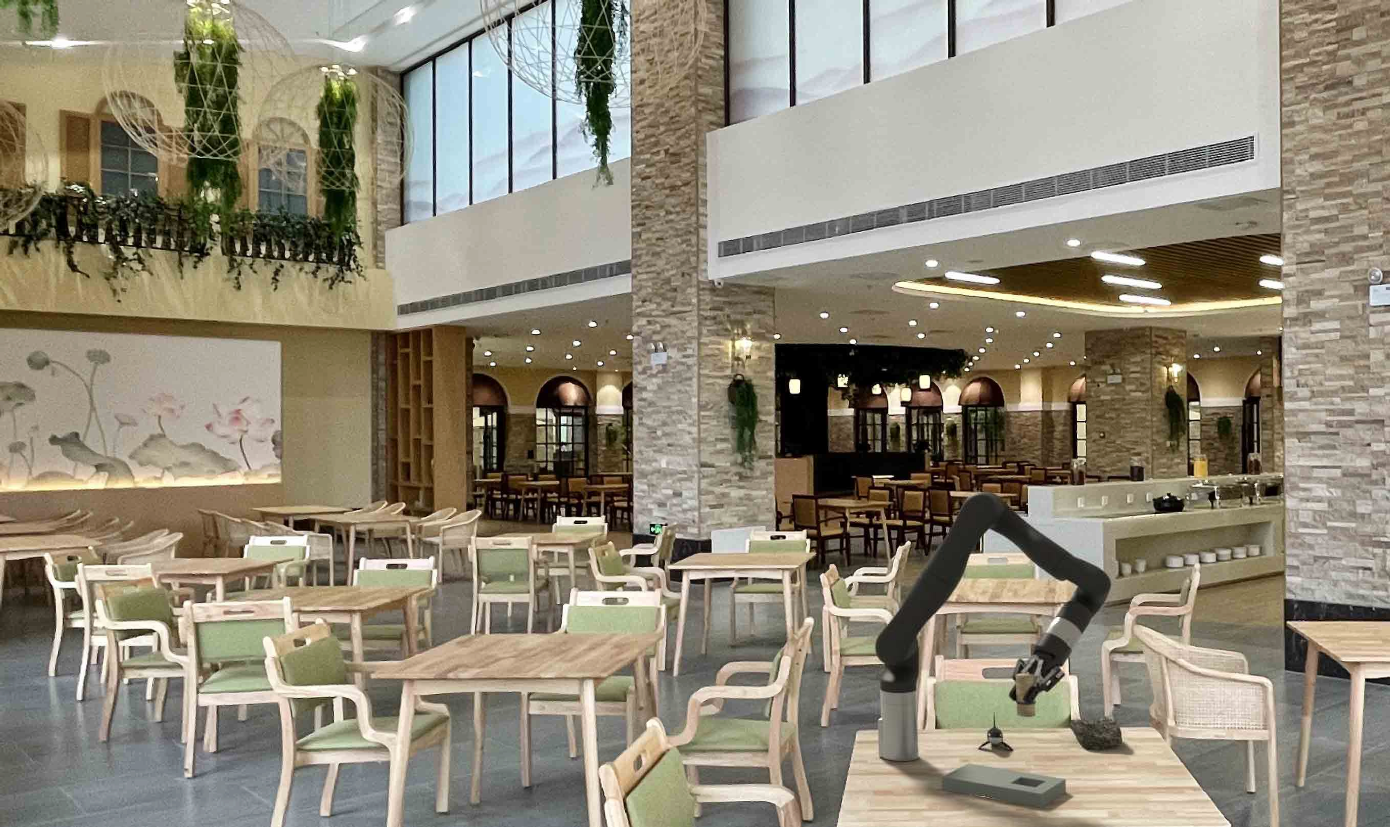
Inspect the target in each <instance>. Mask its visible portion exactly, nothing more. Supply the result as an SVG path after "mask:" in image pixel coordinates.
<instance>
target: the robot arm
mask: <svg viewBox="0 0 1390 827" xmlns="http://www.w3.org/2000/svg"><path fill="white" fill-rule="evenodd" d="M988 530H990V531H993V532H995V533H997V534H998V535H1000V536H1003V537H1004V538H1006V539H1007V540H1008V541H1010V542H1012V544H1014V545H1015V546H1016V547H1017V548H1019V549H1020V551H1022V553H1023V554H1024V555H1025V556H1026V557H1027V558H1028V559H1029V560H1030V561H1032V563H1034V564H1035V565H1036V566H1037V567H1039V568H1040V569H1041V570H1043V571H1044V572H1046V573H1047V574H1048V575H1049V576H1051V577H1052V578H1054V579H1056V580H1057V581H1060V582H1065V581H1069V582H1070V583H1071V584H1073V585H1075V586H1076V588H1075V590H1074V592H1073V593H1072V595H1071V597H1070V598H1069V600H1068V601H1066V602H1065V603H1064V604H1063V606H1061V608H1060V610H1059V611H1058V612H1057V613H1056V616H1055V617H1054V618H1053V619H1052V620H1051V622H1050V623H1049V624H1048V626H1047V627H1046V628H1045V629H1044V631H1043V632H1042V634H1041V635H1040V637H1039V638H1038V640H1037V641H1036V643H1035V645H1034V646H1033V653H1032V655H1031V656H1030V657H1028V659H1027V660H1024V659H1022V658H1021V657H1020V658H1018V659H1017V661H1016V664H1015V667H1014V669H1013V672H1012V675H1011V679H1012V680H1013V682H1015V683H1014V685H1013V687H1012V688H1011V690H1010V691H1009V693H1008V697H1009V698H1010V699H1011V700H1012V702H1013V701H1014V702H1016V700H1017V695H1016V674H1023V673H1025V674H1033V675H1034V681H1033V684H1032V686H1033V687H1032V686H1031V687H1030V688H1029V689H1028V691H1027V692H1026V694H1025V695H1024V697H1023V701H1024V702H1025V703H1026V704H1027V705H1030V704H1031V703H1032V702H1033V701H1034V700H1035V701H1036V698H1037V697H1038V696H1039V694H1040V693H1042V692H1046V693H1048V692H1050V691H1051V690H1052V689H1053V688H1054V687H1055V686H1056V685H1057V684H1058V683H1059V682H1060V681H1061V680H1062V679H1063V678H1064V677H1065V676H1066V674H1065V672H1064V671H1063V670H1062V669H1061V668H1062V667H1063V666H1064V665H1065V663H1066V662H1067V660H1068V659H1069V657H1070V655H1071V654H1072V652H1073V651H1074V649H1075V648H1076V647H1077V644H1078V643H1079V641H1080V638H1081V637H1082V635H1083V634H1084V632H1085V630H1087V628H1088V627H1089V624H1090V622H1091V620H1092V619H1093V618H1094V616H1096V615H1097V613H1098V612H1099V610H1100V609H1101V608H1102V607H1103V605H1104V603H1105V602H1106V600H1107V599H1108V597H1109V594H1110V590H1111V587H1112V581H1111V578H1110V577H1109V575H1108V574H1107V573H1106V572H1105V571H1104V570H1103V569H1102V568H1100V567H1099V566H1097V565H1095V564H1093V563H1090V562H1089V561H1086V560H1084V559H1082V558H1079V557H1077V556H1075V555H1074V554H1073V553H1071V552H1069V551H1068V550H1067V549H1065V548H1064V547H1063V546H1060V545H1059V544H1058V543H1056V542H1055V541H1053V540H1052V539H1050V538H1049V537H1048V536H1046V535H1044V534H1043V533H1042V532H1041V531H1039V530H1038V529H1036V528H1035V527H1033V526H1032V525H1031V524H1029V522H1027V521H1026V520H1025V519H1024V518H1022V517H1021V516H1020V515H1019V514H1018V513H1017V512H1016V511H1015V510H1014V509H1013V508H1012V507H1010V505H1009V504H1008V503H1007V502H1006V501H1004V499H1002V498H1001V497H1000V495H998V494H996V493H994V492H991V491H982V492H981V491H980V492H975V493H973V494H971V495H970V496H968V497H967V498H966V499H965V501H963V504H962V506H961V507H960V509H959V512H958V513H957V516H956V518H955V519H954V521H953V523H952V526H950V530H948V533H947V535H946V536H945V538H944V539H943V540H942V542H940V544H939V545H938V547H937V548H936V549H935V550H934V552H933V554H932V556H931V557H930V558H929V560H928V561H927V562H926V564H925V565H924V567H923V569H922V570H921V572H920V574H919V575H918V577H917V579H916V580H915V582H914V584H913V585H912V587H911V588H910V590H909V592H908V593H907V595H906V597H905V599H904V600H903V603H901V606H900V608H899V609H898V610H897V612H896V613H895V615H894V616H893V617H892V619H891V620H890V621H889V622H888V623H887V625H886V626H885V627H884V629H883V630H882V631H881V632H879V635H877V638H876V640H875V644H874V649H875V650H874V651H875V654H876V656H877V658H878V660H879V661H881V663H883V664H884V668H883V673H882V675H881V678H880V679H879V681H880V682H879V684H880V685H879V687H880V688H879V690H880V692H879V693H880V718H878V720H877V731H878V732H877V735H878V736H877V737H878V738H877V739H878V740H877V741H878V757H881V758H884V759H885V760H888V761H895V762H907V761H908V762H909V761H914V760H917V759H918V758H919V732H918V730H919V729H918V728H919V726H918V725H919V724H918V723H919V722H918V696H917V695H918V692H917V691H918V690H917V689H918V688H917V685H918V683H917V682H918V679H919V676H920V668H919V667H920V648H919V640H918V635H919V633H920V632H921V630H922V628H923V627H924V626H925V625H926V624H927V623H928V621H929V620H930V619H931V618H932V617H934V615H936V613H937V612H938V611H939V610H940V609H941V608H942V607H943V606H944V604H945V603H946V602H947V601H948V600H949V598H951V596H952V595H953V593H954V591H955V590H956V589H957V587H958V585H959V584H960V583H961V580H962V578H963V576H964V573H965V571H966V568H967V565H968V562H969V559H970V556H971V553H972V552H973V550H974V549H975V547H976V545H977V544H978V543H979V541H980V540H981V539H982V538H983V536H984V535H985V534H986V533H987V532H988Z"/></svg>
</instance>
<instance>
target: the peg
mask: <svg viewBox="0 0 1390 827" xmlns="http://www.w3.org/2000/svg"><path fill="white" fill-rule="evenodd" d="M1033 681H1034V675H1033V674H1029V673H1027V674H1025V673H1023V674H1016V682H1015V683H1016V695H1017V700H1016V701H1015V703H1016V715H1017V716H1018V717H1023V718H1031V717H1032V718H1033V717H1036V704H1037V703H1036V702H1037V701H1036V699H1035V700H1034V701H1033V702H1032V703H1031V704H1030V705H1027V704H1026V703H1025V702H1024V701H1023V697H1024V695H1025V694H1026V692H1027V691H1028V689H1029V688H1030V687H1031V686H1032V684H1033ZM1032 687H1033V686H1032Z"/></svg>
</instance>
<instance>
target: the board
mask: <svg viewBox="0 0 1390 827" xmlns="http://www.w3.org/2000/svg"><path fill="white" fill-rule="evenodd" d="M1066 781H1067V779H1066V778H1061V777H1054V776H1048V775H1042V774H1038V773H1037V774H1036V773H1030V772H1025V771H1024V772H1023V771H1017V770H1011V769H1005V768H1000V767H999V768H998V767H993V766H987V765H980V764H974V763H969V762H968V763H966V764H964V765H963V766H961V767H959V768H957V769H955V770H953V771H950V772H949V773H947V774H945V775H943V776H941V790H942V791H946V790H948V792H951V791H953V792H952V793H957V792H959V794H962V793H964V795H968V794H972V795H971V796H973V795H977V796H976V797H979V796H985V797H989V798H988V799H990V798H994V799H993V800H996V799H998V800H997V801H1001V800H1003V801H1002V802H1007V801H1008V803H1013V804H1019V805H1024V806H1028V807H1029V806H1030V807H1035V808H1040V809H1042V808H1044V807H1045V806H1047V805H1048V804H1050V803H1052V802H1054V801H1055V800H1057V799H1058V798H1060V797H1061V796H1063V795H1064V794H1065V793H1067V787H1066V785H1067V783H1066ZM985 797H984V798H985Z"/></svg>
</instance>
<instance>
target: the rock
mask: <svg viewBox="0 0 1390 827" xmlns="http://www.w3.org/2000/svg"><path fill="white" fill-rule="evenodd" d="M1069 721H1070V724H1069V725H1070V730H1071V731H1072V732H1073V734H1074V736H1075V737H1076V739H1077V740H1078V742H1079V744H1080V746H1081V747H1082V749H1084V748H1085V749H1084V750H1088V749H1094V750H1095V749H1096V750H1103V749H1106V747H1107V748H1110V747H1112V746H1117V745H1120V746H1121V745H1122V744H1123V738H1122V737H1123V736H1122V730H1121V728H1120V726H1119V725H1118V724H1117V723H1116V721H1114V720H1113V718H1110V717H1109V716H1107V715H1104V716H1098V717H1097V716H1096V717H1090V718H1085V719H1083V718H1082V719H1081V718H1079V719H1078V718H1077V719H1071V720H1069ZM1109 746H1110V747H1109Z"/></svg>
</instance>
